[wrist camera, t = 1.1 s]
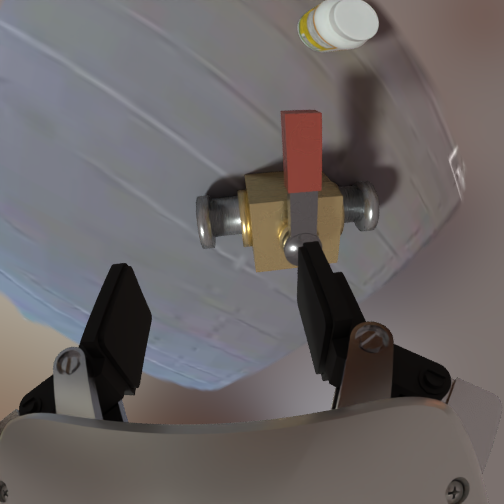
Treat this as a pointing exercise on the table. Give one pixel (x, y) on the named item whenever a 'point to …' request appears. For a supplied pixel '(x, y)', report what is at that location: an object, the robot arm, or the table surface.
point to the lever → (301, 177)
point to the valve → (283, 216)
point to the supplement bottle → (338, 25)
